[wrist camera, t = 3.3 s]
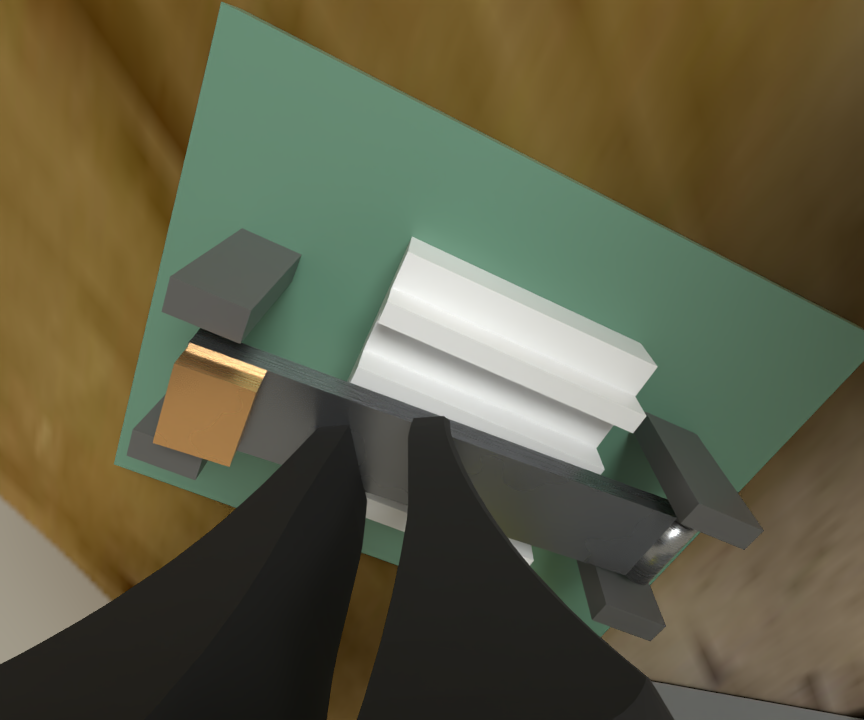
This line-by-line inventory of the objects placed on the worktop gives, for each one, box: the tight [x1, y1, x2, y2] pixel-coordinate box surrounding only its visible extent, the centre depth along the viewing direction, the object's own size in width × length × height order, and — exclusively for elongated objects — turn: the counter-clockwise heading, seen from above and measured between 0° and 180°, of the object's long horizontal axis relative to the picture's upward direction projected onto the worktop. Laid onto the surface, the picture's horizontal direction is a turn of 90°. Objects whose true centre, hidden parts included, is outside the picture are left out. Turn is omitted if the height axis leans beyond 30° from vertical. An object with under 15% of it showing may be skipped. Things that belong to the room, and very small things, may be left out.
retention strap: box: [153, 328, 698, 585], centre depth 11 cm, size 12×2×1 cm, turn 65°
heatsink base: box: [114, 2, 864, 641], centre depth 13 cm, size 16×12×4 cm
